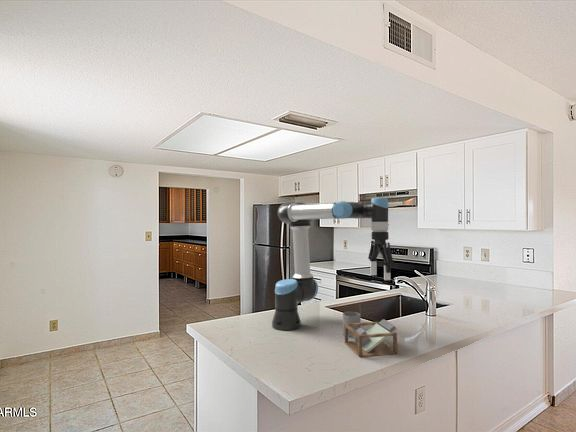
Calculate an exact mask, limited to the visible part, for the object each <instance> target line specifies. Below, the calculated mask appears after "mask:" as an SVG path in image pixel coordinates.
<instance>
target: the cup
mask: <svg viewBox="0 0 576 432" xmlns="http://www.w3.org/2000/svg"><path fill="white" fill-rule="evenodd" d="M351 323H362V321H361V313H360V312H357V311H344V312H343V313H342V335H343V337H345V324H351ZM360 327H361V328H362V326H352V328H353V329H354V330H355V331H356V330H357V329H359V328H360ZM348 338H351V339H354V338H353V336H352V332H351V331H350V330H349V329H348Z"/></svg>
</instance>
